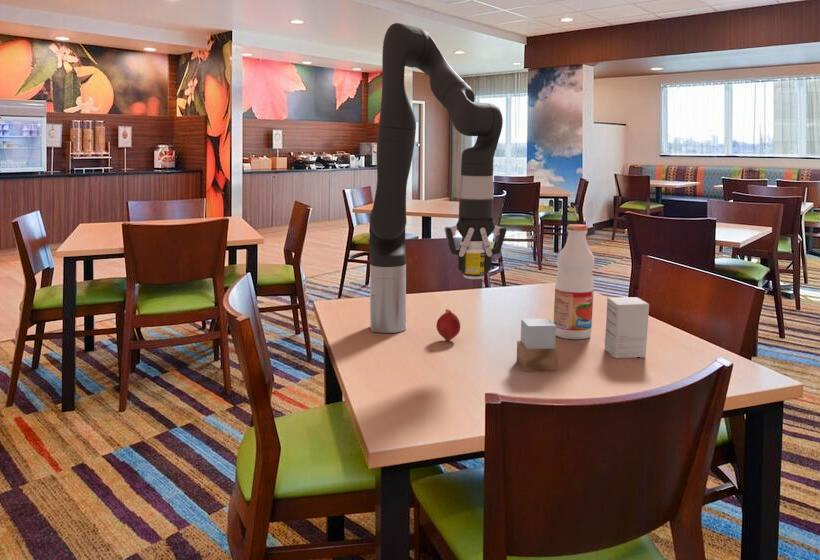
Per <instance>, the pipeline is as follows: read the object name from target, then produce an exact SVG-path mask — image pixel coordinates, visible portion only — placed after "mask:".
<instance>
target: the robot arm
mask: <svg viewBox="0 0 820 560" xmlns="http://www.w3.org/2000/svg"><path fill="white" fill-rule="evenodd" d="M381 64H382V69H381V71H382V74H381V75H382V76H381V78H382V79H381V80H382V82H381V85H382V87H381V100H380V112H379V113H380V114H379V120H378V127H377V129H378V130H377V139H376V172H377V173H376V174H377V179H376V181H377V182H376V190H375V194H374V195H375V196H374V200H373V206H372V209H371V211H370V213H369V270H370V271H369V274H370V275H369V277H370V278H369V279H370V281H369V283H370V286H369V288H370V291H369V322H370V324H369V325H370V332H371V333H382V334H394V333H399V332H403V331H405V330H406V329H407V325H406V324H407V302H406V301H407V250H406V246H407V245H406V227H407V186H408V185H407V184H408V179H409V174H410V171H411V167H412V161H413V155H414V148H415V141H416V132H417V121H416V116H415V113H414V111H413V108H412V104H411V102H410V100H409V97H408V94H407V91H406V86H405V69H406V68H405V67H407V68H416V69H418V70H419V71H421V72H422V73H424V74H425V75H426V76H427V77H428V78H429V87H430V90H431V92H432V94H433V95H434V97H435V98H436V99H437V100H438V101H439V102H440V104H441V105H442V106H443V107H444V108H445V110H446V111H447V113H448V115H449V117H450V120H451V122H452V125H453V127H454V129H455V130H456V131H458V133H459V134H461V135H463V136H466V137H476V140H475V144H474V145H473V146H471V147H466V148H465V149H464V150H462V153H461V159H460V160H461V161H460V163H461V164H460V180H459V181H460V182H459V190H458V198H459V199H458V220H457V223H456V224H455V225H452V226H445V227H444V233H445V234H444V235H445V237H446V240H447V241H446V242H447V246H448V251H449V252H450V253H451V254H452V255H456V256H457V257H456V259H457V260H456V263H457V265H456V268H457V270H458V271H459V272H460V273H461V274H463V273H464V272H465V257H464V254H465V251H466V249H467V247H468V245H469V242H470V241H483V245H484V247H483V249H484V250H485V268H484V274H488V273H489V272H490V271H491V269H492V257H493V256H494V255H499V254H500V253H501V250H502V247H503V244H504V240H505V236H506V234H507V228H505V227H503V226H498V225H496V224H495V223H494V218H493V217H494V193H495V190H494V189H495V188H494V184H495V183H494V160H495V159H494V158H495V154H496V151H497V147H498V143H499V140H500V137H501V134H502V130H503V123H504V122H503V121H504V120H503V119H504V118H503V114H502V111H501V109H500V108H499V106H497V105H496V104H494V103H492V102H491V103H490V102H489V103H488V102H475V100H476V95H475V92H474V90H473V88H472V87H471V86H470V85H468V83H467V82H466V81H465V80H464V79H463V78H462V77H461V76H460V75H459V74H458V73H457V72H456V71H455V70H454V69H453V67H452V66H451V65H450V64H449V62H448V61H447V60H446V58H445V56H444V55H443V54H442V52H441V50H440V49H439V47H438V45H437V44H436V41H435V39H433V38H432V36H431V35H430V33H429V32H427V30H424V29H422V28H419V27H416V26H412V25H408V24H404V23H399V22H395V23H392V24H390V25H389V27H388V28H387V30H386V32H385V34H384V38H383V44H382V63H381ZM493 231H494V236H496V237H495V238H494V239H495V240H494V243H493V247H492V248H491V244H490V241H489V237H490V236H491V234H492V233H493ZM456 232H458V233H459V234H460V236H461V239H460V243H459V247H458V248H456V244H455V239H454V237H455V236H456ZM466 241H467V242H466Z"/></svg>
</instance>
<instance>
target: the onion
mask: <svg viewBox="0 0 820 560" xmlns="http://www.w3.org/2000/svg"><path fill="white" fill-rule="evenodd" d="M435 327H436V331H437V333H438V334H439V335H440V336H441V337H442V338H443V339H444V340H445V341H447V342H450V341H452V339H454V338H456V337H457V336H458V335H459V333H460V331H461V322H460V320H459V317H458V316H457V315H456V314H455V313H453V312H452V311H451V310H450V309H448V308H447V309H445V312H444V313H443V314H442V315H440V316H439V318H438V319H437V322H436V326H435Z"/></svg>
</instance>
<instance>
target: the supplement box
mask: <svg viewBox="0 0 820 560" xmlns="http://www.w3.org/2000/svg"><path fill="white" fill-rule="evenodd" d="M606 300H607V301H606V319H605V333H604V334H605V335H604V350H606V351H607V353H608V354H610V355H611V356H612V355H613V356H614V357H615V359H619V358H620V359H623V358H624V359H626V358H627V359H629V358H630V359H634V358H635V359H636V358H637V357H640V358H646V356H647V341H648V327H649V326H648V325H649V311H650V304H649V303H648V302H647V301H644V300H643V299H642V298H640V297H637V296H634V297H633V296H630V297H627V296H626V297H624V296H623V297H607V299H606ZM613 356H612V357H613ZM614 357H613V358H614Z"/></svg>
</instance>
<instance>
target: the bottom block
mask: <svg viewBox="0 0 820 560" xmlns="http://www.w3.org/2000/svg"><path fill="white" fill-rule="evenodd" d="M558 354H559V349H558V348H557V346H555V348H554V349H527V348H526V347H525V346H524V344H523V343H522V342H521V339H519V340H517V341H516V363H517V364H518V365H519V367H520V368H521V369H522V371H523V372H524V373H538V372H541V373H542V372H545V373H546V372H557V371H558Z"/></svg>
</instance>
